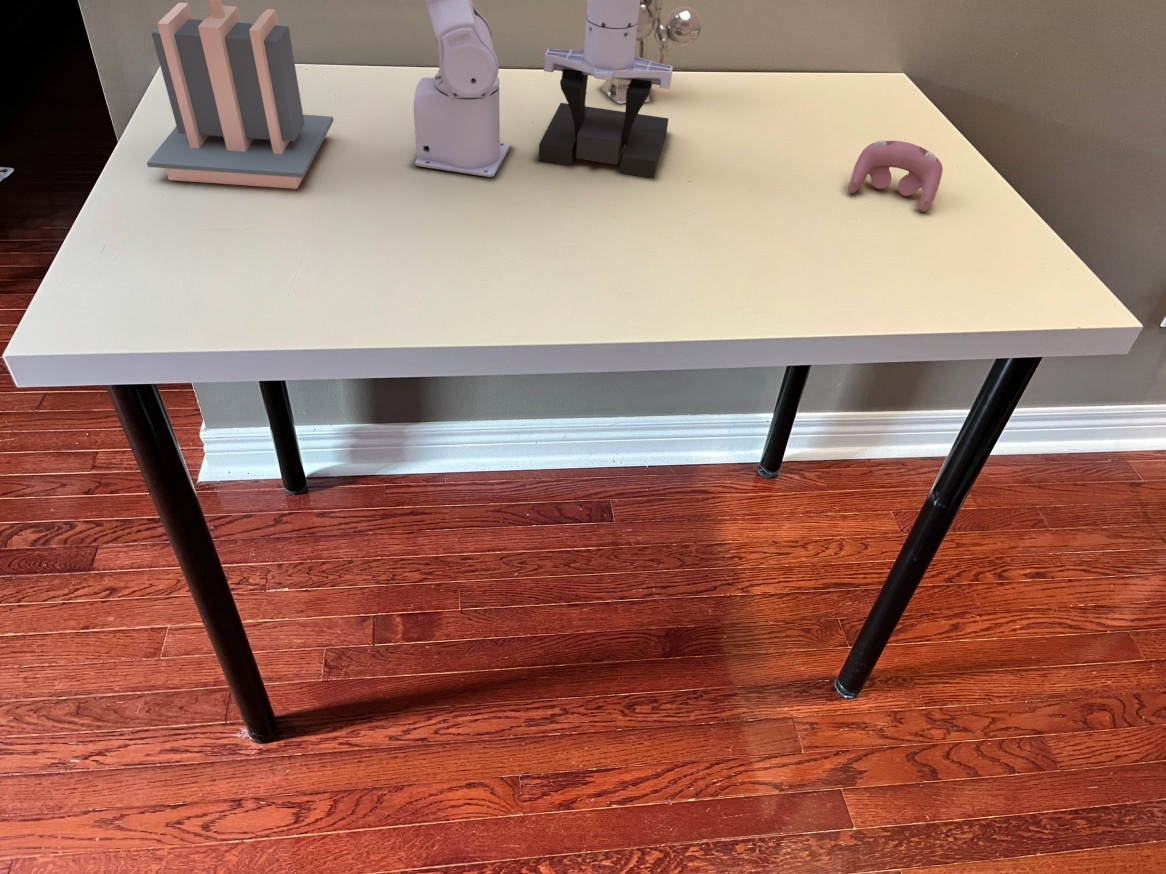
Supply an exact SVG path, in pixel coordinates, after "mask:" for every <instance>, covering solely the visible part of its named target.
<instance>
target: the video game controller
mask: <svg viewBox="0 0 1166 874" xmlns="http://www.w3.org/2000/svg"><path fill="white" fill-rule="evenodd" d="M890 168H894V169H895V168H896V169H899V170H900V169H901V170H904V171H906V172H908V173H907V174H905V175H904V176H902V177H901V178H900V179H899V181H898V183H897V190H898V192H899V193H900V194H901V195H902V196H904V197H910V196H912V195H914V194H915V193H916V192H917V191H918V190H919V189H920V188H921V191H922V192H921V196H920V203H919V210H920V212H921V213H922V212H923V213H924V212H927V211H928V210H929V209H930V207H931V206H932V204H933V202H934V200H935V198H936V195H937V192H938V191H939V187H940V184H941V180H942V176H943V164H942V162H941V160H940V159H939V158H938V157H937V156H936V155H935V154H934V153H933V152H931V151H929V150H928V149H926V148H924V147H922V146H920V145H917V144H915V143H911V142H907V141H901V140H878V141H876V142H872V143H870V144H868V145H867V146H866V147H864V149H863V150H862V151H861V152H860V155H859V156H858V158H857V160H856V162H855V164H854V167H853V171H852V172H851V173H852V174H851V177H850V180H849V184H848V190H849V193H851V194H855V193H857V192H858V191H859V189H861V187H862V185H863V184H864V182H865V180H866V179H867V177H868V175H869V177H870V179H871V180H870V181H871V184H872V186H873V187H874V188H876V189H879V190H882V189H885V188H887V187H889V186H890V184H891V183H892V173H891V171H890Z"/></svg>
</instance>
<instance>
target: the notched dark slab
mask: <svg viewBox="0 0 1166 874" xmlns="http://www.w3.org/2000/svg"><path fill="white" fill-rule="evenodd" d="M588 110H593V111H600V112H607V113H614V114H620V115H625V111H621V110H614V109H608V108H607V109H606V108H602V107H600V108H599V107H593V106H587V105H585V117H586V115H587V113H588ZM668 126H669V118H668V117H663V116H662V117H661V116H655V115H649V114H648V115H647V114H641V113H638V114H637V116H636V118H635V121H634V123H633V125H632V129H631V133H630V138H629V141H628V144H627V145H625V148H624V150H623V153H622V156H621V164H620V174H623V175H631V176H635V177H641V178H642V177H643V178H649V179H654V178H655V176H656V175H655V174H656V171H657V168H658V164H659V161H660V158H661V154H662V152H663V151H662V150H663V148H664V144H665V141H666V137H667V132H668ZM576 148H577V137H575V128H574V123H573V118H572V114H571V111H570V108H569V105H568V102H567V103H565V102H560V103H559V105H558V107H557V109H556V111H555V113H554V114H553V117H552V119H551V121H550V122H549V125H548V126H547V128H546V130H545V131H544V134H543V136H542V139H541V140H540V142H539V144H538V161H539V162H545V163H552V164H558V165H564V166H572V165H573V162H574V160H575V159H576Z"/></svg>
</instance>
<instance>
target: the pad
mask: <svg viewBox="0 0 1166 874" xmlns="http://www.w3.org/2000/svg"><path fill="white" fill-rule="evenodd" d="M624 122H625V115H620V114H614V113H607V112H600V111H593V110H588V113H587V115H586V117H585V119H584V121H583V123H582V126H581V128H580V130H579V132H578V134H577V148H576V156H575V159H577V160H578V159H580V160H585V161H591V162H599V163H604V164H611V165H618V163H619V161H620V158H621V155H622V152H623V149H624V146H625V145H624V144H622V133H623V128H624Z"/></svg>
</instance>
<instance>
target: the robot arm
mask: <svg viewBox="0 0 1166 874" xmlns="http://www.w3.org/2000/svg"><path fill="white" fill-rule="evenodd" d="M424 2H425V5H426V7H427V11H428V15H429V19H430V22H431V25H432V29H433V33H434V37H435V43H436V46H437V51H438V60H439V61H438V62H439V63H438V69H439V70H438V72H437V73H435V75H434V77H421V78H420V79H419V81H418V83H417V85H416V88H415V91H414V98H413V122H414V136H415V149H416V159H415V161H414V163H415V166H417V167H421V168H429V169H434V170H435V169H436V170H442V171H447V172H454V173H461V174H467V175H473V176H481V177H487V178H493V177H494V176H495V175H496V173H497V171H498V170H499V168H500V166H501V164H502V162H504V161H503V160H504V159H505V158H506V156H507V154H508V152H509V151H510V148H511V147H510V146H511V145H510V144H509V143H505V142H500V141H501V140H500V139H501V138H500V134H501V133H500V131H501V130H500V129H501V127H500V123H501V122H500V78H499V70H500V68H499V67H500V66H499V60H498V57H497V54H496V52H495V50H494V49H495V48H494V45H493V36H492V35H493V34H492V30H491V26H490V24H489V22H488V21H487V20H486V18H485V17H484V16H483V15H482V14H481V13H480V12H479V11H478V9H477V8H476V6H475V4H474V3H473V0H424ZM639 7H640V0H587V1H586V13H585V14H586V16H585V29H584V31H585V32H584V45H583V49H561V48H560V49H559V48H549V47H548V48H547V50H546V52H545V53H544V57H543V72H547V73H554V72H555V71H556V72H562V73H561V79H560V81H559V85H560V89H561V91H562V94H563V96H564V98H565V100H566V102H567V104H568V105H569V108H570V111H571V114H572V118H573V123H574V128H575V137H577V134H578V132H579V130H580V128H581V126H582V123H583V121H584V119H585V106H586V96H587V88H588V79H589V76H591V77H593V78H594V79H597V80H602V81H606V80H611V79H618V80H625V81H631V82H630V85H629V86H628V87H627V88H626V103H625V110H624V112H625V122H624V128H623V133H622V144H624V146H626V145H627V144H628V141H629V138H630V133H631V129H632V125H633V123H634V121H635V118H636V116H637V114H639V113H640V111H641V109H642V107H643V105H645V103H646V102H645V101H646V99H647V97H648V96H649V95H650V92H651V90H652V87H653V85H654V86H659V88H660V89H664V90H669V89H670V86H671V83H672V78H673V69H674V65H670V64H660V62H656V61H653V60H649V59H647V60H646V59H643V58H640V57H639V56H636V44H637V42H636V36H637V26H638V17H639Z"/></svg>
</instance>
